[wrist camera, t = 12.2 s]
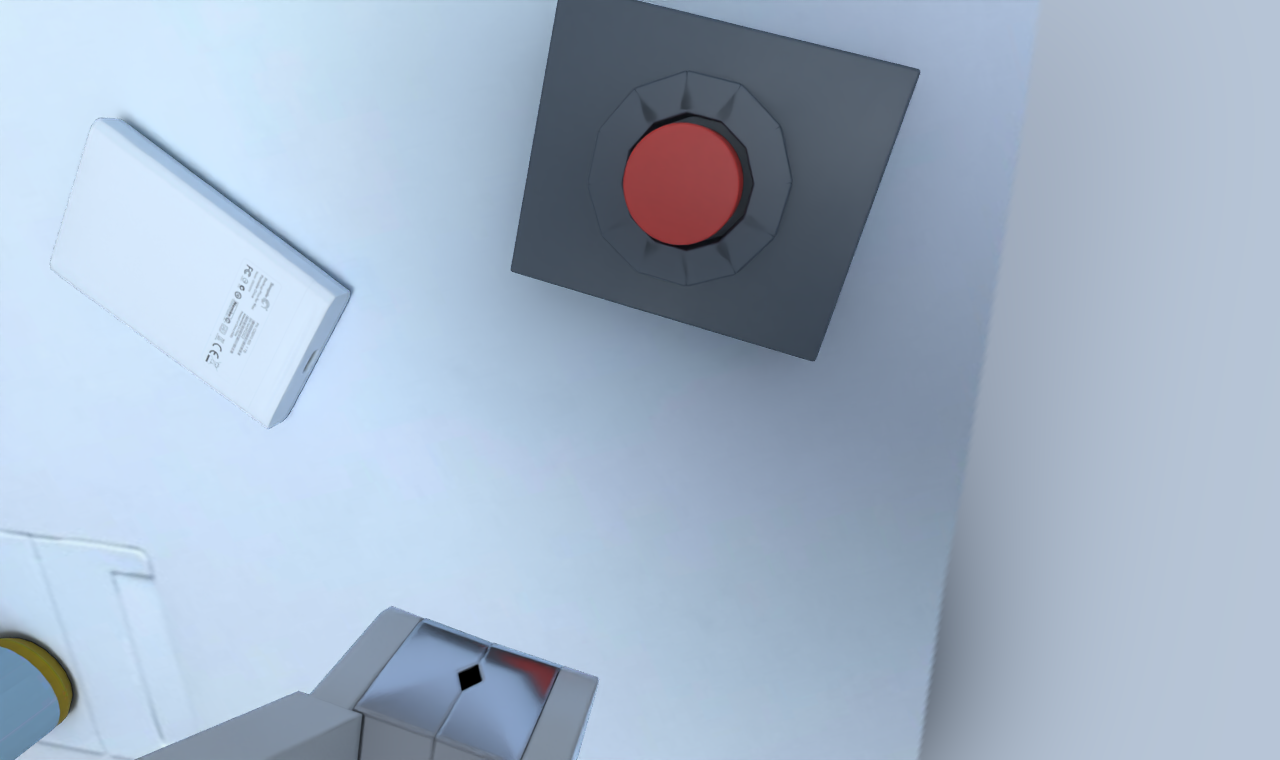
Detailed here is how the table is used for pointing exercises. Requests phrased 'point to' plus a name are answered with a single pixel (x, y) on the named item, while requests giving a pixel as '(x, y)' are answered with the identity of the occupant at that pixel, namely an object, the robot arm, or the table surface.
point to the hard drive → (194, 273)
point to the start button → (682, 183)
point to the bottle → (29, 695)
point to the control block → (759, 133)
